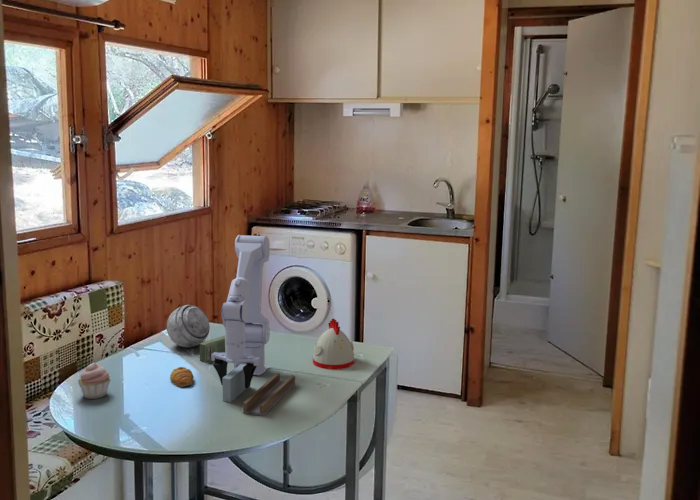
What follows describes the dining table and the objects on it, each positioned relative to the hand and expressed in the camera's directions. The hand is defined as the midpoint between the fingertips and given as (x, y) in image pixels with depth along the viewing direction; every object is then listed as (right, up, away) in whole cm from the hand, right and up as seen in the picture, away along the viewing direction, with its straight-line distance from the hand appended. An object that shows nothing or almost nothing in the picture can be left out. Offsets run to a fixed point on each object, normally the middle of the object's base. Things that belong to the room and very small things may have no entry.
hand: (235, 385), depth 200 cm
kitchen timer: (+28, +2, +28) cm, 40 cm away
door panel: (0, -3, +1) cm, 3 cm away
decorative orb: (-24, +5, +42) cm, 49 cm away
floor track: (+11, -3, -3) cm, 11 cm away
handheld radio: (-8, +4, +37) cm, 38 cm away
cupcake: (-40, -3, -2) cm, 41 cm away
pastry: (-18, -1, +9) cm, 20 cm away
